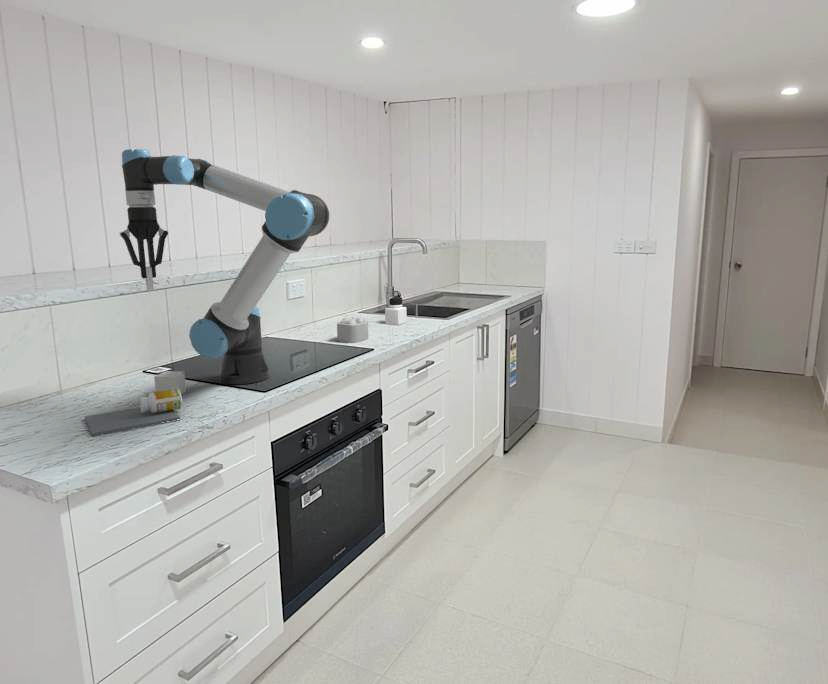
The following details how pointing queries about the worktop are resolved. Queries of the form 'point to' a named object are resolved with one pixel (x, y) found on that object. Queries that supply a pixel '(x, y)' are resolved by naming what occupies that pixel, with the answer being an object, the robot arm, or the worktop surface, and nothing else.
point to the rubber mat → (126, 420)
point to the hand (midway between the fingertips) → (150, 289)
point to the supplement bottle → (161, 401)
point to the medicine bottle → (395, 312)
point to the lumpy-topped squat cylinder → (352, 330)
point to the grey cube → (170, 381)
